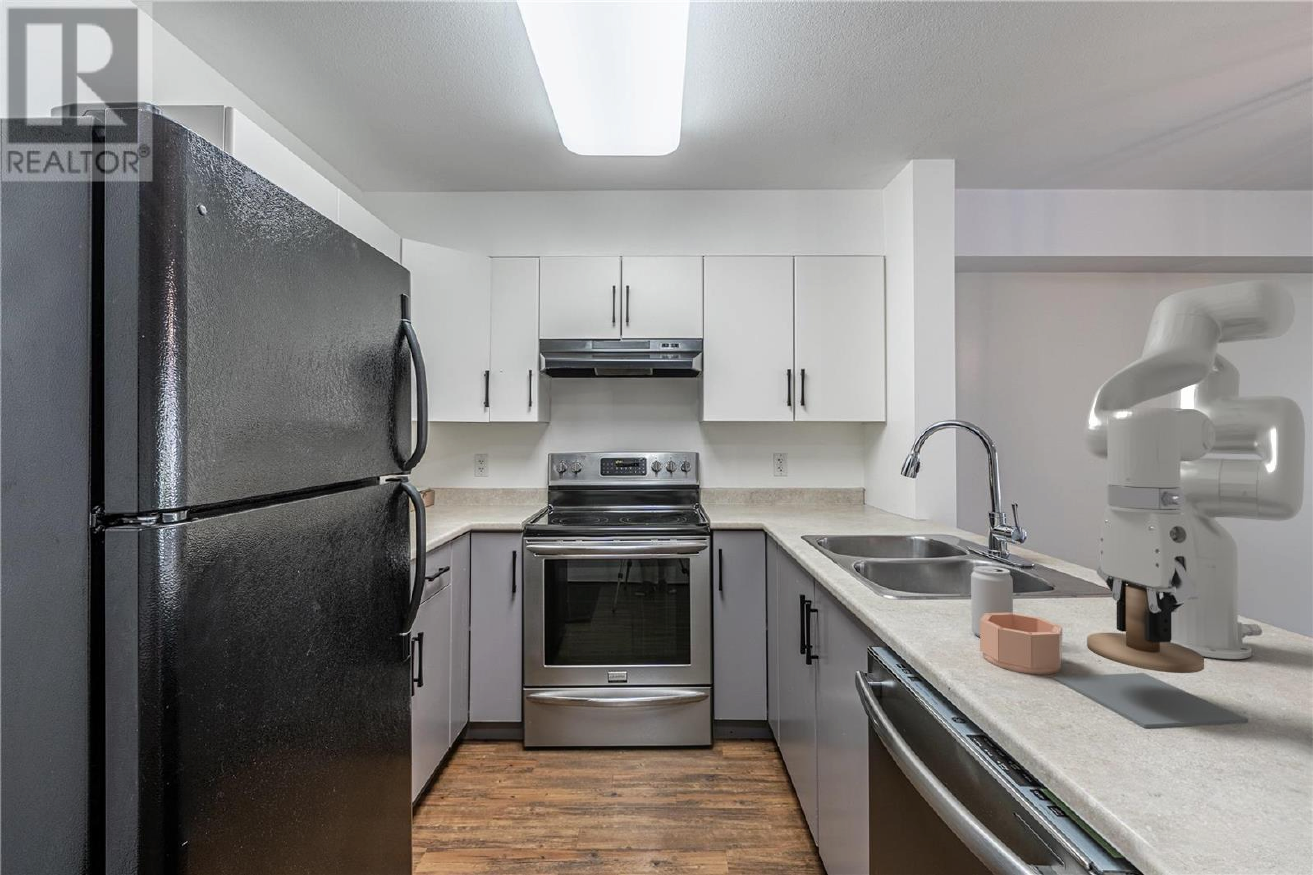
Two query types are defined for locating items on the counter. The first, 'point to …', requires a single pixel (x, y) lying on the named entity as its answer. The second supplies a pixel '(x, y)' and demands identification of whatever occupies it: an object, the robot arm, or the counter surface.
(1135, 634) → the lid
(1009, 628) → the bowl
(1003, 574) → the beverage can
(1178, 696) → the mat
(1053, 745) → the counter surface
